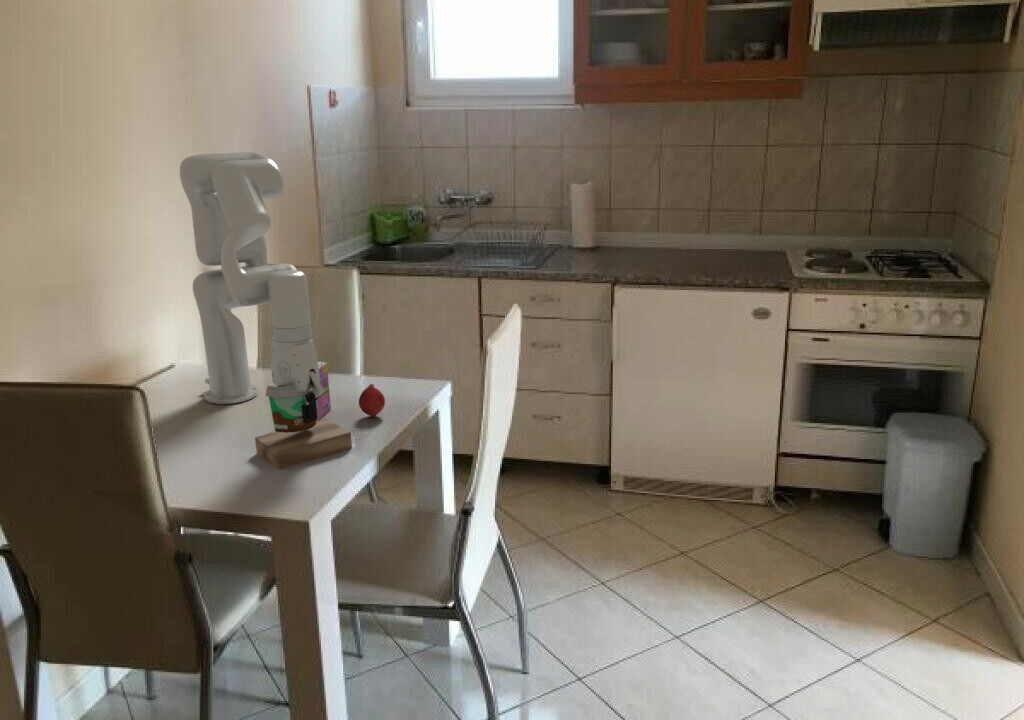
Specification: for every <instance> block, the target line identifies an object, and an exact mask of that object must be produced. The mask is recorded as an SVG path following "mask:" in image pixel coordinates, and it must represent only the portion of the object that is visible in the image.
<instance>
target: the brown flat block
mask: <svg viewBox="0 0 1024 720" xmlns="http://www.w3.org/2000/svg"><path fill="white" fill-rule="evenodd" d="M254 440H255V441H254V442H255V448H256V454H257V455H258V456H259V457H261V458H262V457H263V458H262V459H264V460H266V462H268V463H269V464H271V465H272V466H274V467H275V468H277V469H278V470H279V471H281V470H285V469H287V468H291V467H294V466H297V465H301V464H304V462H305V463H307V462H311V461H315V460H317V459H321V458H324V456H325V457H327V455H328V456H331V455H334V453H335V454H338V453H340V451H341V452H344V451H343V450H345V451H347V449H348V450H350V449H349V448H352V449H353V444H352V442H353V441H352V432H351V431H349V430H347V429H346V428H343V427H342V426H340V425H338V424H336V423H334V422H333V421H331V420H329V419H328V418H323V419H322V418H321V419H319V420H318V421H316V425H315V426H314V427H312V428H310V429H307V430H304V431H299V432H289V433H285V432H277V431H274V432H271V433H267V434H263V435H260V436H255V437H254ZM337 452H338V453H337ZM314 459H315V460H314Z"/></svg>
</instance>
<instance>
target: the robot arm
mask: <svg viewBox="0 0 1024 720" xmlns="http://www.w3.org/2000/svg"><path fill="white" fill-rule="evenodd" d="M179 178H180V182H181V185H182V186H181V187H182V188H183V191H184V193H185V196H186V197H187V200H188V202H189V204H190V208H191V209H190V210H191V216H192V225H193V237H194V245H195V252H196V256H197V259H198V260H199V262H200V263H201V264H203V265H205V266H208V267H209V266H211V267H212V266H213V267H215V266H220V267H221V269H220V268H219V269H212V270H208V271H203V272H202V273H200V274H198V275H197V276H196V277H195V278H194V279H193V280H192V293H193V297H194V299H195V300H194V301H195V303H196V306H197V310H198V312H199V313H198V314H199V317H200V322H201V323H200V324H201V329H202V335H203V342H204V343H203V344H204V349H205V357H206V365H207V374H208V378H205V380H204V383H205V384H207V385H208V386H209V390H208V391H206V392H205V394H204V400H205V401H206V402H208V403H209V404H214V403H215V405H229V404H237V403H243V402H246V401H249V400H251V399H254V398H255V397H257V396H258V395H259V389H258V387H257V386H255V385H253V384H251V378H250V377H251V376H250V368H249V359H248V351H247V343H246V342H247V341H246V335H245V334H246V333H245V327H244V324H243V322H242V321H241V320H240V318H239V317H237V315H235V314H234V313H233V312H232V310H233V309H237V308H241V307H251V306H253V307H254V306H259V305H260V306H261V305H265V304H269V311H270V319H271V329H272V330H271V331H272V339H271V345H270V347H271V348H270V366H271V367H270V369H271V370H270V371H271V380H272V383H273V384H274V386H275V387H278V386H283V387H286V386H294V388H295V390H296V392H298V393H302V392H304V395H302V400H303V403H304V405H302V414H303V423H305V424H307V423H310V422H312V421H315V420H317V408H316V402H317V401H318V398H319V397H320V395H321V394H322V393H323V392H324V389H323V387H322V385H321V384H320V376H319V367H318V362H319V361H318V356H317V351H316V347H315V343H314V340H313V331H312V330H313V329H312V320H311V310H310V307H311V306H310V301H309V299H310V298H309V288H308V287H309V286H308V280H307V279H308V278H307V276H306V274H305V273H304V271H301V270H298V269H297V268H296V266H294V265H293V264H290V263H277V264H268V251H267V241H266V238H265V234H266V233H267V232H268V230H269V229H270V227H271V225H272V219H271V216H270V214H269V212H268V209H267V206H266V205H265V202H264V200H266V199H275V198H278V197H279V196H281V195H282V193H283V190H284V179H283V178H284V177H283V174H282V172H281V170H280V167H279V166H278V165H277V163H276V162H275V161H274V160H272V159H271V158H270V157H267V156H264V155H262V154H259V153H258V152H254V151H253V152H251V151H247V152H246V151H242V152H241V151H239V152H221V153H219V152H216V153H202V154H194V155H190V156H188V157H186V158H184V159H182V161H181V162H180V165H179ZM241 263H244V265H245V266H243V265H242V266H241V265H240V264H241ZM309 384H311V385H312V387H311V388H310V390H309V391H311V390H313V392H311V394H310V395H309V396H308V397H307V393H306V391H305V390H307V388H308V385H309Z"/></svg>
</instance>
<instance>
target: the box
mask: <svg viewBox="0 0 1024 720" xmlns="http://www.w3.org/2000/svg"><path fill="white" fill-rule="evenodd" d="M318 367H319V376H320V384H321V385H322V387H323V389H324V392H323V393H322V394H321V395H320V397H319V398H318V401H317V404H316V408H317V420H316V421H318V420H321V419H322V417H324V415H326V414H327V413H328V412H329V411H330V410H332V405H331V396H330V393H331V392H330V384H329V372H328V371H329V369H328V362H326V361H318Z"/></svg>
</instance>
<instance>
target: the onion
mask: <svg viewBox="0 0 1024 720" xmlns="http://www.w3.org/2000/svg"><path fill="white" fill-rule="evenodd" d="M385 405H386V399H385V396H384V394H383V393H382V392H381V390H379V389H378V388H377V387H375V384H374V383H370V384H369V385H368V386H367V387H366V388H365V389H363V390H362V392H361V394H360V396H359V398H358V407H359V408H360V410H361V411H362V412H363V413H364V414H366V415H368V416H370V417H371V418H375V417H377V416H378V414H379V413H381V412H382V411H383V409H384V407H385Z"/></svg>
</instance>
